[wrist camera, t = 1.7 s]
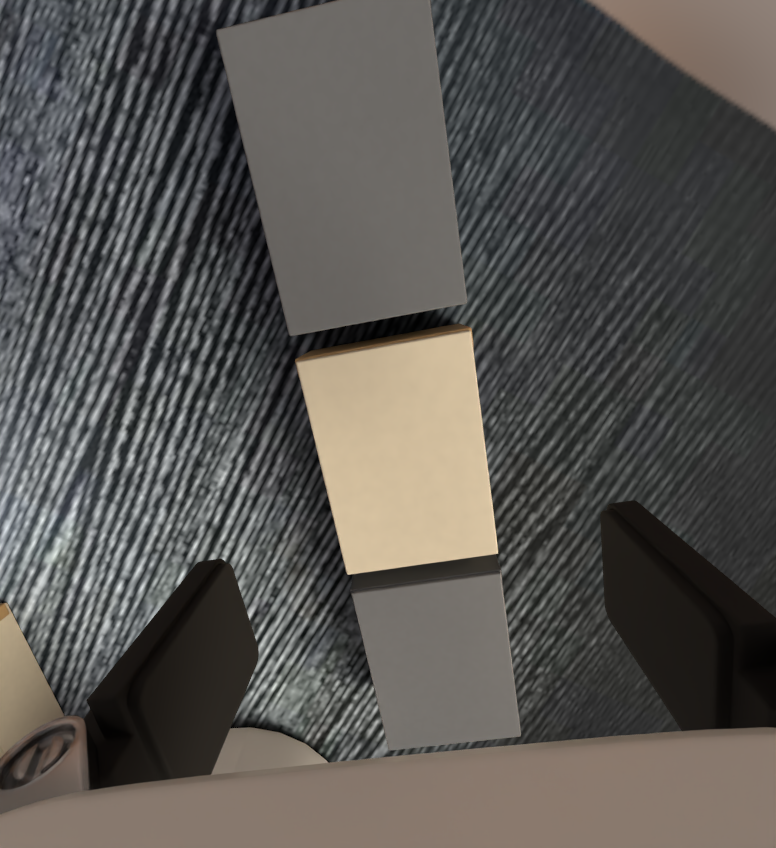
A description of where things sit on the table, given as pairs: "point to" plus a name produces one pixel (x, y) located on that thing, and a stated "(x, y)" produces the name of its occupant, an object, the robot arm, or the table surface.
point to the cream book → (402, 448)
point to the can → (262, 751)
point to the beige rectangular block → (21, 685)
